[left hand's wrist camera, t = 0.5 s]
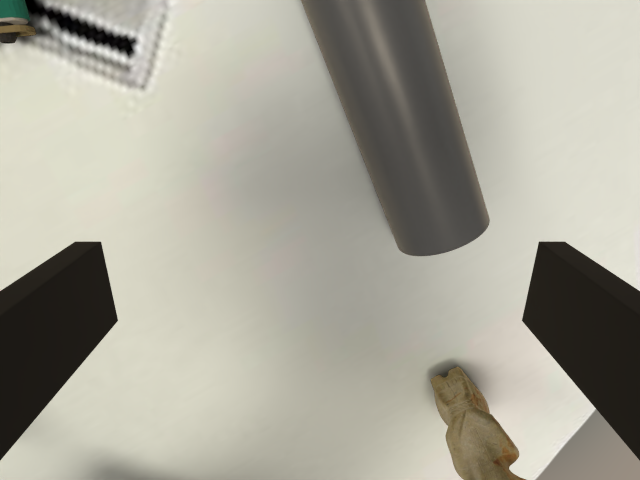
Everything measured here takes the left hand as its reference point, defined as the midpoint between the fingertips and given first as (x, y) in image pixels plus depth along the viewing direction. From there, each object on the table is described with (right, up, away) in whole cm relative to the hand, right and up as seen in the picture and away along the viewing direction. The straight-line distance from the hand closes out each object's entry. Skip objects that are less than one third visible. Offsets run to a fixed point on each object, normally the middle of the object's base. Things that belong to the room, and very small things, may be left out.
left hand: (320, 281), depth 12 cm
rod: (+5, +15, +21) cm, 26 cm away
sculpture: (+15, -15, +33) cm, 39 cm away
